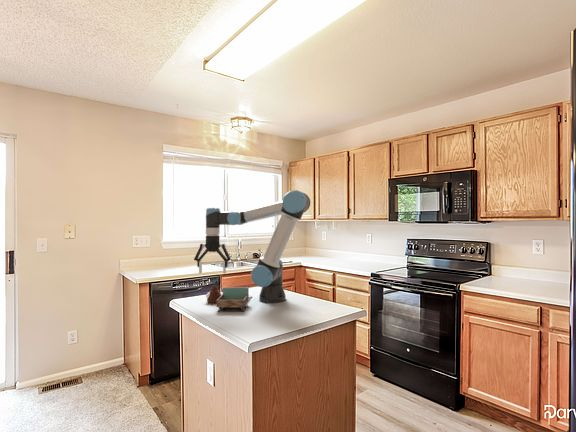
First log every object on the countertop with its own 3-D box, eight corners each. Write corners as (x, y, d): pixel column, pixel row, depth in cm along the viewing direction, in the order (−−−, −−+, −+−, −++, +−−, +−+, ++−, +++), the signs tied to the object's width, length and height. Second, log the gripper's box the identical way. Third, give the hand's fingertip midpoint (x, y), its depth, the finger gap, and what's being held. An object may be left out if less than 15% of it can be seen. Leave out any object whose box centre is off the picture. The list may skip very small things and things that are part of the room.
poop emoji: (220, 304, 180) (220, 287, 180) (204, 304, 180) (204, 287, 180) (223, 299, 190) (223, 283, 190) (209, 300, 190) (209, 283, 190)
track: (252, 297, 196) (252, 296, 196) (243, 312, 164) (243, 311, 164) (230, 297, 196) (230, 296, 196) (217, 311, 164) (217, 311, 164)
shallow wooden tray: (248, 303, 178) (248, 287, 178) (244, 310, 164) (244, 293, 164) (222, 303, 178) (222, 287, 179) (216, 310, 164) (216, 293, 165)
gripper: (236, 235, 188) (235, 272, 188) (192, 234, 189) (192, 271, 189) (233, 235, 181) (233, 274, 181) (188, 235, 182) (188, 274, 181)
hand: (212, 273), depth 185 cm, fingers open, 13 cm apart
